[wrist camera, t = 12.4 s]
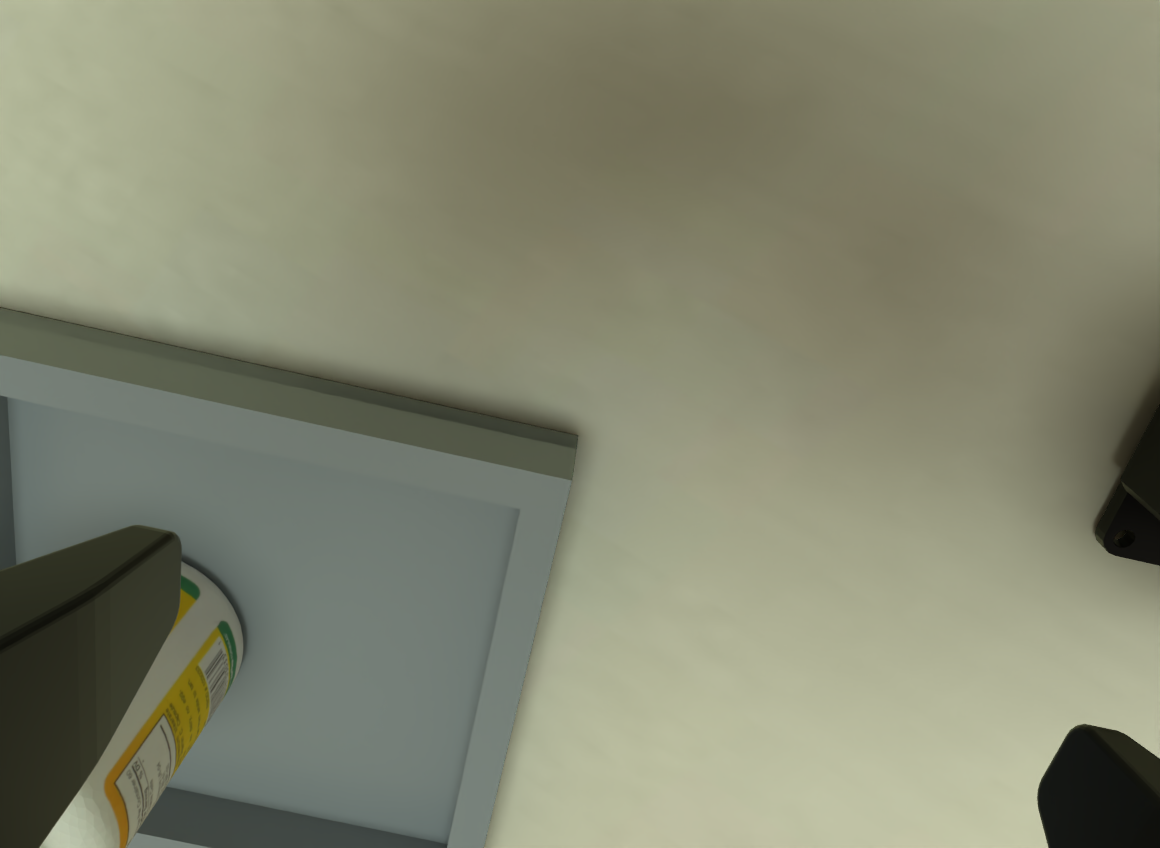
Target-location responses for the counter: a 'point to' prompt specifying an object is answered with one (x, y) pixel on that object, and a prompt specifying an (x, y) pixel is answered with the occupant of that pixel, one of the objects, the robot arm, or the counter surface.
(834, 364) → the counter surface
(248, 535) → the tray
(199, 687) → the supplement bottle
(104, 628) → the robot arm
